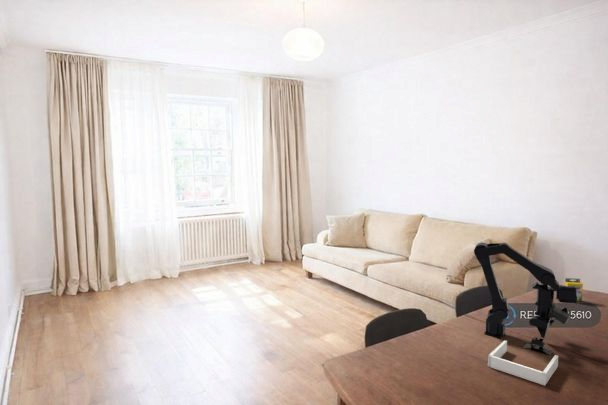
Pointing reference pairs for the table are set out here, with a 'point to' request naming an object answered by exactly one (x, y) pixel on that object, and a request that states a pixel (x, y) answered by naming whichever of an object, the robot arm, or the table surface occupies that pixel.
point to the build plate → (538, 348)
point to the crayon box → (578, 287)
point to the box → (520, 366)
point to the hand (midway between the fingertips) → (543, 337)
